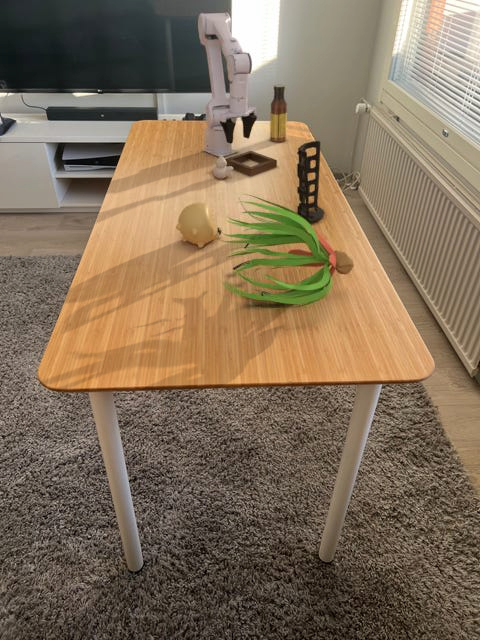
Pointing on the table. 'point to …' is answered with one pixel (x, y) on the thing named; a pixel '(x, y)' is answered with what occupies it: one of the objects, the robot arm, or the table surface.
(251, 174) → the brown wooden square frame
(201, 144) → the table surface
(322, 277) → the decorative plant
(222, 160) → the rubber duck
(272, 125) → the sauce bottle
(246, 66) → the robot arm
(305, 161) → the holder
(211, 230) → the toy pig
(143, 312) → the table surface
